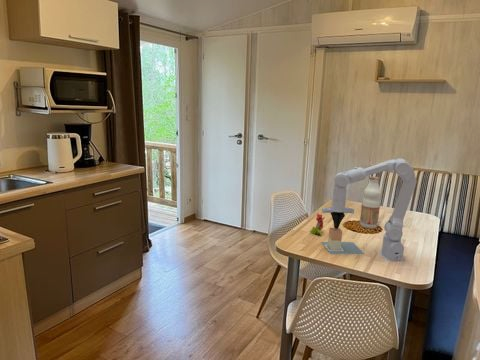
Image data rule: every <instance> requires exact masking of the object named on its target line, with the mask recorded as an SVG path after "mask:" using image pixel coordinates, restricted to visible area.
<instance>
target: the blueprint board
mask: <svg viewBox="0 0 480 360" xmlns="http://www.w3.org/2000/svg"><path fill="white" fill-rule="evenodd" d="M320 243H321V244H322V245H323V246H324V248H325V249H326V250H327V252H328V253H329V254H330V255H365V252H363V250H361V248H360V247H358V245H356V244H355V243H354V242H353V241H341V248H340V250H331V249H330V248H329V247H328V241H321V242H320Z"/></svg>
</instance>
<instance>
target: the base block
mask: <svg viewBox="0 0 480 360" xmlns="http://www.w3.org/2000/svg"><path fill="white" fill-rule="evenodd" d="M327 240H328V241H327V242H328V247H329V248H330V249H331V250H340V248H341V242H342V240H341V241H332V240H331V239H330V238H329V237H328V238H327Z"/></svg>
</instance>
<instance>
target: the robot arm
mask: <svg viewBox="0 0 480 360" xmlns="http://www.w3.org/2000/svg"><path fill="white" fill-rule="evenodd" d="M414 170H415V169H414V167H413V166H412V165H411V164H410V162H409V161H407V160H406V159H404V158H402V157H398V158H395V159H394V158H392V159H389V160H385V161H382V162H380V163H376V164H374V165H371V166H369V167H366V168H365V167H364V168H363V167H358V166H355V167H353V169H349V170H347V171H346V170H343V172H338V173H336V174H335V176H334V178H333V180H334V185H333V187H334V188H333V192H332V202H331V206H329V207H321V213H322V214H326V213H327V214H330V215H331V218H332V223H333V228H335V229H338V228H340V224H341V222H342V221H343V219H344V218H345V216H346V214H352V215H353V214H355V208H353V207H350V208H349V207H346V200H347V192H348V191H347V190H348V189H347V186H348V184H354V183H357V182H361V181H365V180H366V178H367V177H368V176H371V175H375V174H379V173H382V172H388V173H391V174H394V172H395V174H397V175H398V176H399V177H400V179H401V180H402V184H401V187H400V190H399V193H398V196H397V199H396V201H395V204H394V208H393V211H392V214H391V215H390V217H389V218H388V220H387V222H385V224H384V226H383V227H384V231H385V233H384V234H383V238H382V245H381V251H377V253H378V255H380V256H381V257H382V258H383V259H385V260H386V261H388V262H389V261H390V262H391V261H392V262H394V261H396V262H397V261H398V262H401V261H405V259H403V257H404V251H405V247H404V245H403V243H402V237H403V234H404V233H403V228H404V220H405V217H406V214H407V211H408V207H409V205H410V203H411V199H412V196H413V193H414V190H415V188H416V185H417V177H416V174H415V171H414Z"/></svg>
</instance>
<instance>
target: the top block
mask: <svg viewBox="0 0 480 360" xmlns="http://www.w3.org/2000/svg"><path fill="white" fill-rule="evenodd" d="M342 237H343V230H342V229H341V228H340V227H339V228H338V229H335V228H334V227H329V229H328V238H330V239H331V240H332V241H341V242H342V240H343V238H342Z"/></svg>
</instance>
